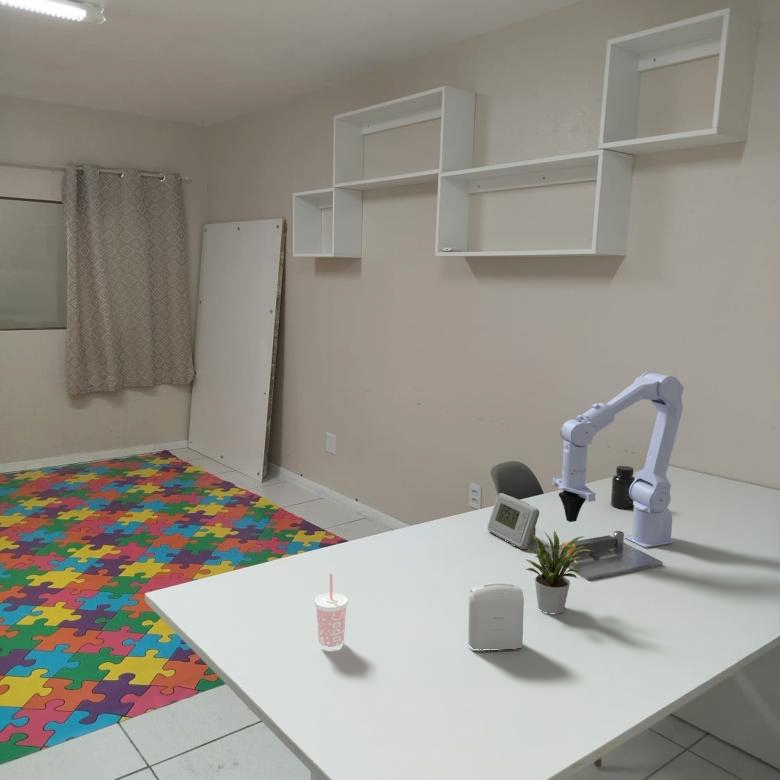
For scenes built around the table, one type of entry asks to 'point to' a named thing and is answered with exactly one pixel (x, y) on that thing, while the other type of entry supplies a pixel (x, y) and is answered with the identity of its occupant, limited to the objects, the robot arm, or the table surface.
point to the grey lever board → (611, 560)
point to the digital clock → (513, 521)
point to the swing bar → (592, 544)
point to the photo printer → (496, 616)
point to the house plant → (553, 574)
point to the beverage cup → (331, 617)
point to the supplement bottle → (622, 488)
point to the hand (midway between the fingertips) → (571, 520)
